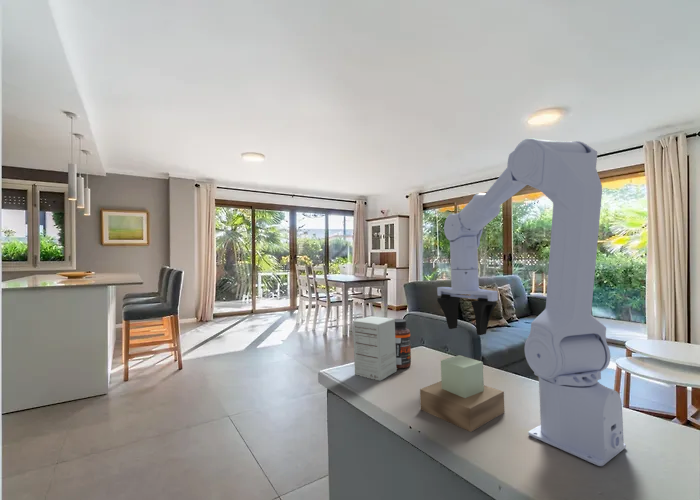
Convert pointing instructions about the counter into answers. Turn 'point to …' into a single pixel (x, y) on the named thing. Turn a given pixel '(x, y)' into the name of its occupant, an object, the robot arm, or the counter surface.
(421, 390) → the walnut block
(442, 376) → the sage cube
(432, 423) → the counter surface
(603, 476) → the counter surface
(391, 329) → the supplement box
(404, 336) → the supplement bottle
